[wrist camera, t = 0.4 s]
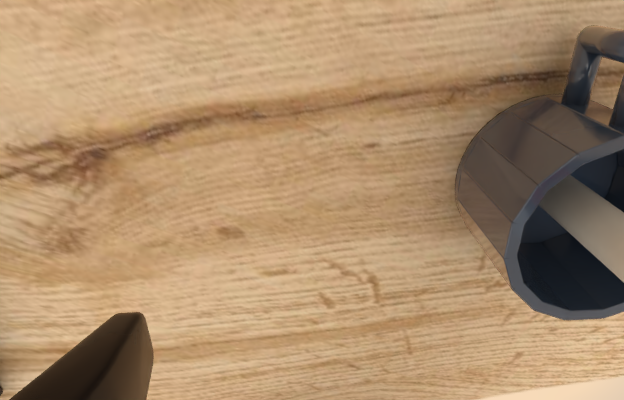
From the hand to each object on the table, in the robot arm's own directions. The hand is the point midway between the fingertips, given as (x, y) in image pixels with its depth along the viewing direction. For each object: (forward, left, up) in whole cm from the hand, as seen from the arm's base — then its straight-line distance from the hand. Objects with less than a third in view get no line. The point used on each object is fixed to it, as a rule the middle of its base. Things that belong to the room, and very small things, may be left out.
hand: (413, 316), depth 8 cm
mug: (-2, -10, -13) cm, 16 cm away
